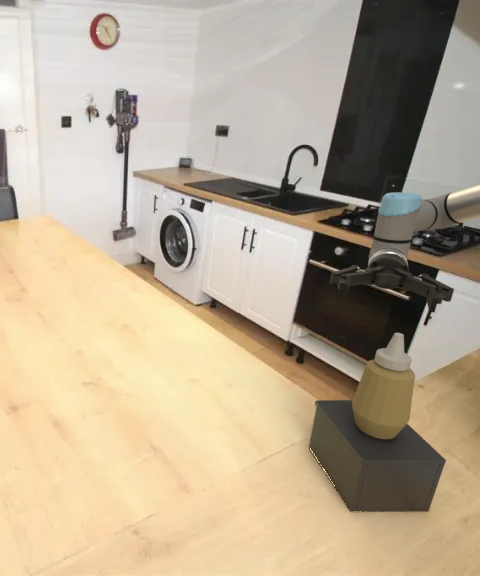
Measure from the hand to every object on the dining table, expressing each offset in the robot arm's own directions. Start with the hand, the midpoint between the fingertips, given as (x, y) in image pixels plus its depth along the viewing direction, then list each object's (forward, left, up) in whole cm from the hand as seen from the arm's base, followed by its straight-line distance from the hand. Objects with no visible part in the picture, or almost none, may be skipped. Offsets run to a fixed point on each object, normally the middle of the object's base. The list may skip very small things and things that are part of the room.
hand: (387, 298), depth 76 cm
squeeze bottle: (+9, +12, -19) cm, 24 cm away
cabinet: (+9, +12, -29) cm, 33 cm away
